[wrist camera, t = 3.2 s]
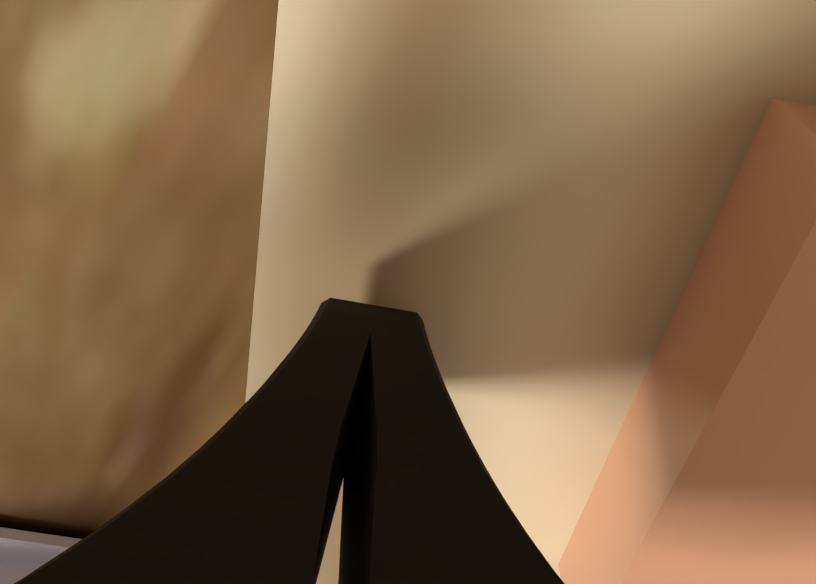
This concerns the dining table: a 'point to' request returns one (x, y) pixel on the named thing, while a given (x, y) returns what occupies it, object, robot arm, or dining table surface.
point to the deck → (513, 200)
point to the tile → (725, 399)
